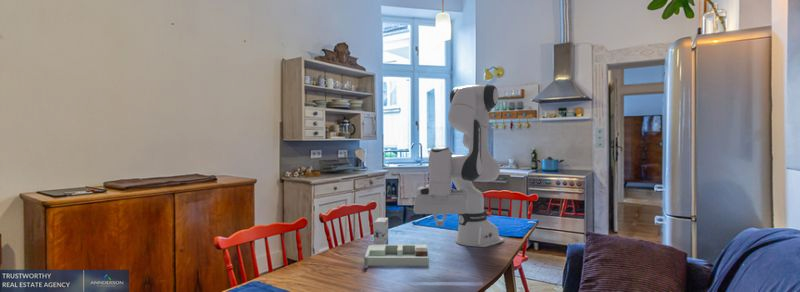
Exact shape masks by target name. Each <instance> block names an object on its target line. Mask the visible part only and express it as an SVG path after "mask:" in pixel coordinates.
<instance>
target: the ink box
mask: <svg viewBox="0 0 800 292" xmlns="http://www.w3.org/2000/svg"><path fill="white" fill-rule="evenodd" d="M373 245H389V217H378V218H376V220H375V221H373Z"/></svg>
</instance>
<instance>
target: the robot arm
mask: <svg viewBox="0 0 800 292" xmlns="http://www.w3.org/2000/svg"><path fill="white" fill-rule="evenodd" d="M498 101H499V91H498V89H497V87H496V86H495V85H493V84H470V85H464V86H463V85H462V86H460V85H459V86H456V87H453V88H452V90H451V91H450V93H449V103H450V106H449V110H448V114H447V116H448V117H447V119H448V123H449V124H450V125H451V127H452V128H453V129H454V130H456V131H457V132H460V133H462V134H463V137H462V143H463V146H464V147H465V148H466V149H468V153H467V154H452V153H451V149H450V147H448V146H443V145H440V146H435V147H432V148H431V149H430V151H429V155H428V168H427V169H428V175H429V176H428V177H429V178H428V183H427V184H424V185H421V186H419V187H417V189H416V195H415V196H414V202H413V212H414V213H415V215H432V217H433V218H434V220H435V225H436V226H444V225H445V221H446V219H447V216H448V215H457V217H458V218H457V219H458V229H457V234H456V238H455V243H456V244H458V245H462V246H467V247H479V248H486V247H490V246H493V245H496V244H499V243H500V244H501V243H503V242H505V239H504V238H503V237H502V236H500V235H499V228H498V227H497V226H496V225H495V224H494V223H492V222H491V221H490V220H489V219H488V217H489V218H490V217H491V216H492V213H491V212H490V211H485V207H484V206H485V203H484V202H485V199H484V195H483V193H482V191H481V190H479V189H477V188H476V187H475V185H474V184H473V182H477V183H478V182H481V183H488V182H493V181H496V180H497V179H498V178H499V176H500V174H501V173H500V172H501V168H500V164H499V162H498V161H497V160H496V159H495V158H494V157H493V156H492V155H491V153H490V151H489V148H488V147H489V146H488V139H489V138H488V136H489V127H490V126H489V125H490V115H489V113H490V112H491V111H492V110H493V109H494V108H495V107H496V106H497V104H498ZM452 185H454V186H455V188H454V189H453V188H452ZM438 215H442V218H441V219H438V218H437V217H438Z"/></svg>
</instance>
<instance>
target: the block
mask: <svg viewBox="0 0 800 292" xmlns="http://www.w3.org/2000/svg"><path fill="white" fill-rule="evenodd" d="M427 249H428V247H427V248H416V257H429V256H428V255H429V252H428V251H429V250H428V251H427Z"/></svg>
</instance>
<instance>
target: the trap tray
mask: <svg viewBox="0 0 800 292" xmlns="http://www.w3.org/2000/svg"><path fill="white" fill-rule="evenodd" d="M416 248H427V251H429V250H428V244H387V245H374V244H368V247H367V249H366V252H365V255H364V262H363V264H364V265H363V267H364V269H368V268H369V267H371V266H382V267H383V266H385V267H386V266H387V267H388V266H389V267H391V266H393V267H394V266H396V267H397V266H401V267H402V266H403V267H405V266H406V267H411V266H414V267H418V266H419V267H420V266H423V267H424V266H425V267H426V266H427V267H429V265H430V263H429V261H430V260H429V259H430V258H429V256H428V257H416Z"/></svg>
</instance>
